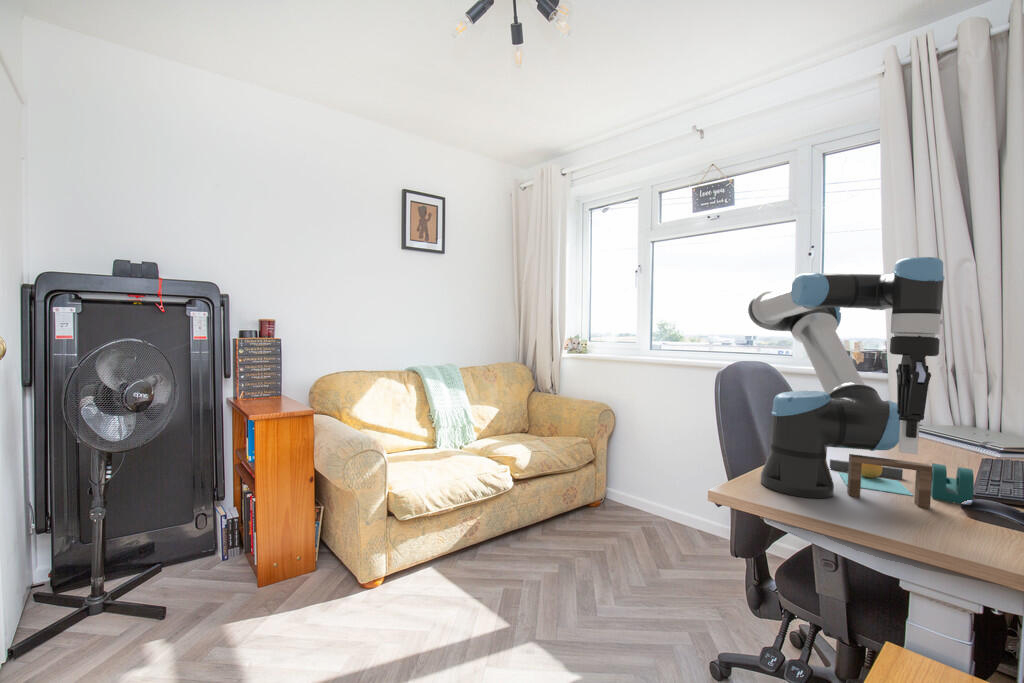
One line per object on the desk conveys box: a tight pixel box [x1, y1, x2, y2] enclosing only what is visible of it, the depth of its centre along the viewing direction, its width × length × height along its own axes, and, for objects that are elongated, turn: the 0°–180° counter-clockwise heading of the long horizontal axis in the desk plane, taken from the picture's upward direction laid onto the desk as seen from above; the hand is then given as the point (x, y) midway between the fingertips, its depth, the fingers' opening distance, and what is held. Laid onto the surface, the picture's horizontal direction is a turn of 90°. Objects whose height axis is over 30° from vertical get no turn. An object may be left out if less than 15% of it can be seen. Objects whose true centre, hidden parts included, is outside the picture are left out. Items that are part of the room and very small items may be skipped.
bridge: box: [846, 453, 932, 509], centre depth 108 cm, size 3×14×9 cm, turn 63°
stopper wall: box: [829, 458, 904, 480], centre depth 130 cm, size 16×2×2 cm, turn 63°
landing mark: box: [837, 471, 914, 497], centre depth 120 cm, size 13×13×1 cm
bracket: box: [931, 462, 975, 505], centre depth 115 cm, size 18×7×8 cm, turn 142°
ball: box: [861, 463, 882, 478], centre depth 125 cm, size 6×6×6 cm
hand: (907, 452), depth 95 cm, fingers closed
